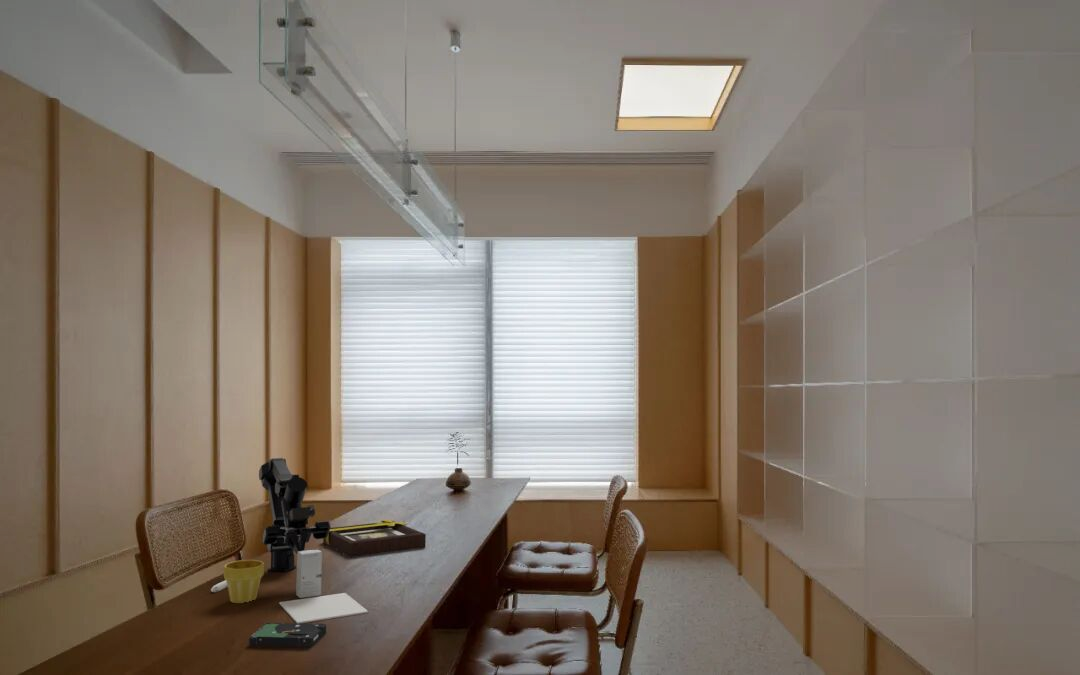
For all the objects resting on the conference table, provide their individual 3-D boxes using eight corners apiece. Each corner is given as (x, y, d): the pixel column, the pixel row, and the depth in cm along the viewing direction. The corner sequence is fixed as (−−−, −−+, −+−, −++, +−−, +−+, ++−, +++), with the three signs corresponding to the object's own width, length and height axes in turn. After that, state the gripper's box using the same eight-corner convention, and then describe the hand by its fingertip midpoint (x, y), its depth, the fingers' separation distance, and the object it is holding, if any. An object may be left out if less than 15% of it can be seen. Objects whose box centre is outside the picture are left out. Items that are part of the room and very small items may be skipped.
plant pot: (259, 604, 209) (260, 567, 209) (219, 606, 207) (219, 569, 207) (266, 593, 219) (267, 558, 219) (228, 595, 217) (228, 560, 218)
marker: (214, 594, 219) (214, 586, 219) (207, 594, 219) (208, 586, 219) (247, 578, 237) (247, 570, 237) (241, 578, 237) (241, 570, 237)
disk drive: (326, 635, 186) (265, 633, 186) (326, 623, 186) (266, 621, 186) (311, 650, 175) (247, 648, 176) (312, 637, 175) (248, 635, 176)
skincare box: (300, 598, 214) (300, 554, 215) (295, 594, 218) (296, 551, 218) (322, 595, 217) (322, 551, 218) (317, 591, 221) (317, 548, 222)
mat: (279, 603, 209) (279, 602, 209) (345, 594, 218) (345, 592, 218) (297, 623, 192) (297, 622, 192) (368, 612, 201) (368, 611, 201)
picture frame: (321, 525, 287) (397, 517, 304) (321, 544, 287) (397, 534, 303) (349, 539, 264) (429, 530, 280) (348, 559, 263) (429, 548, 280)
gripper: (265, 498, 226) (272, 544, 216) (329, 493, 236) (339, 537, 226) (259, 521, 233) (266, 566, 223) (321, 515, 242) (331, 559, 232)
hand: (301, 556), depth 226 cm, fingers closed
